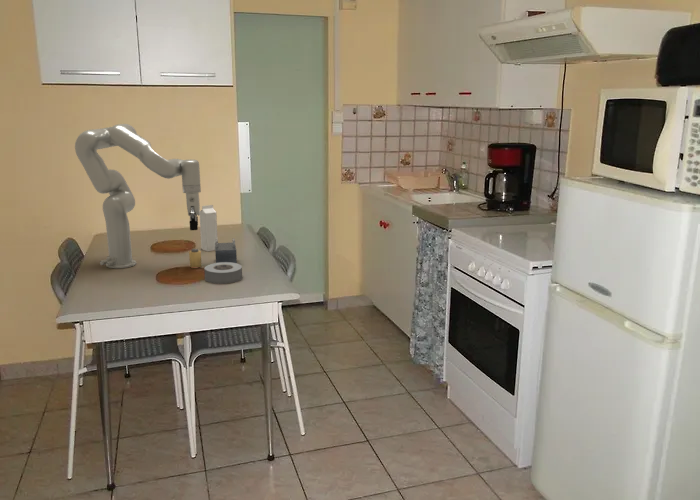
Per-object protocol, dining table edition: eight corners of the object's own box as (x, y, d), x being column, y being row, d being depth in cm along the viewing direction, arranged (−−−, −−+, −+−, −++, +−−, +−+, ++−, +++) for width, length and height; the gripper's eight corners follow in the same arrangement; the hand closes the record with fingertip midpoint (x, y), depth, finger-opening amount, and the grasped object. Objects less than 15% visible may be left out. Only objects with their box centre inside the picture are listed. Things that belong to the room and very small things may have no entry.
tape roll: (247, 281, 247) (247, 269, 246) (211, 286, 239) (210, 274, 238) (235, 271, 260) (234, 260, 258) (200, 276, 252) (199, 264, 251)
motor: (236, 267, 266) (236, 243, 263) (216, 268, 264) (215, 243, 261) (235, 257, 282) (234, 234, 279) (215, 258, 280) (214, 235, 277)
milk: (218, 249, 296) (216, 205, 291) (207, 251, 292) (205, 207, 286) (211, 247, 300) (210, 203, 295) (200, 249, 296) (199, 205, 291)
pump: (196, 268, 262) (195, 251, 260) (187, 267, 265) (186, 250, 263) (203, 266, 267) (203, 249, 265) (195, 264, 269) (194, 247, 267)
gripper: (200, 191, 250) (202, 231, 254) (200, 185, 266) (203, 223, 270) (181, 192, 248) (184, 232, 252) (183, 186, 265) (185, 224, 269)
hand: (194, 227), depth 261 cm, fingers open, 9 cm apart
